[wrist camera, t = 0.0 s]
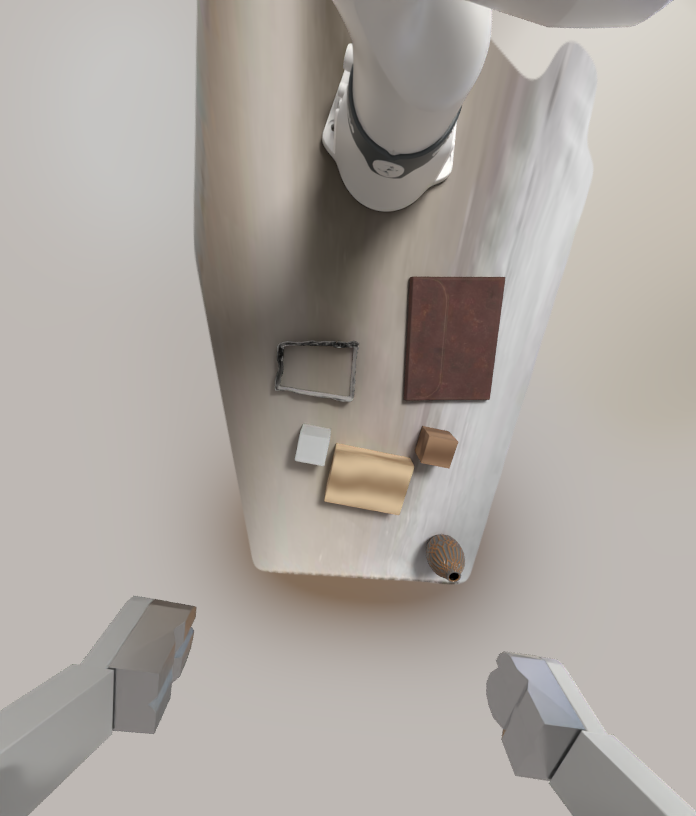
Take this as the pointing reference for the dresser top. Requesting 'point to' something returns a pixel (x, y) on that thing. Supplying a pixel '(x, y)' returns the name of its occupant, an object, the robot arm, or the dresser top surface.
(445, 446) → the walnut cube
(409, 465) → the oak block
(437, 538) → the vase
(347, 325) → the dresser top surface
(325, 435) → the grey block
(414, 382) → the notebook
